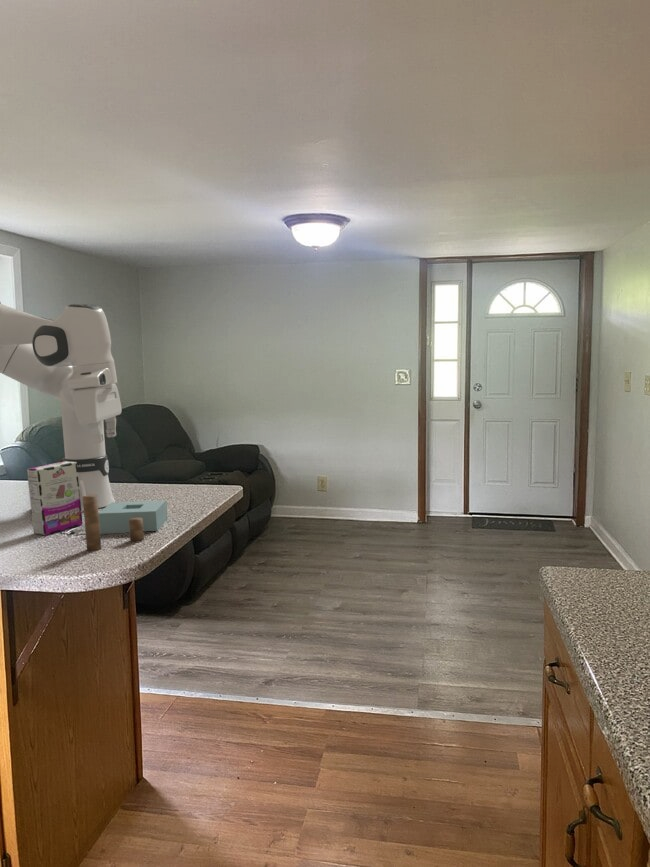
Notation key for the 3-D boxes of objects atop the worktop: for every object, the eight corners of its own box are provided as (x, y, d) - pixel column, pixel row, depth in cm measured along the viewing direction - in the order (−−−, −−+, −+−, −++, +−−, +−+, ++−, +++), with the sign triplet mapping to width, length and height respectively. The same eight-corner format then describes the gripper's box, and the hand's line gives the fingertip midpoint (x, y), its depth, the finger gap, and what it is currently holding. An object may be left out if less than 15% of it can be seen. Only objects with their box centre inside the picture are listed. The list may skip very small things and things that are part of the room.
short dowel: (129, 542, 150) (127, 520, 149) (132, 538, 153) (130, 517, 152) (142, 541, 150) (140, 520, 149) (145, 538, 153) (143, 517, 152)
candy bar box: (70, 523, 170) (65, 460, 168) (83, 525, 167) (78, 461, 165) (31, 533, 160) (25, 467, 158) (44, 536, 158) (38, 469, 156)
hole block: (98, 533, 158) (97, 513, 157) (113, 521, 170) (111, 502, 169) (157, 531, 158) (155, 511, 158) (167, 519, 170) (166, 500, 170)
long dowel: (85, 551, 144) (80, 497, 142) (89, 547, 147) (85, 494, 145) (98, 550, 144) (94, 497, 142) (103, 546, 147) (99, 494, 145)
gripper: (96, 377, 154) (105, 435, 156) (64, 381, 134) (75, 448, 136) (123, 374, 154) (132, 432, 156) (95, 378, 134) (105, 444, 136)
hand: (105, 439), depth 146 cm, fingers open, 8 cm apart
